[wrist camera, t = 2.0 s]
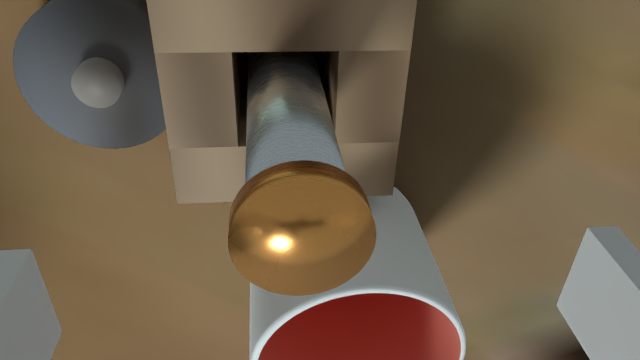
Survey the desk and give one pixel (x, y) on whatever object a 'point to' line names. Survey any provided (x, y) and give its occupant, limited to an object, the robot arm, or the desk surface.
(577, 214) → the desk surface
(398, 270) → the cup
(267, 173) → the lock pin
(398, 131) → the block
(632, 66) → the desk surface
